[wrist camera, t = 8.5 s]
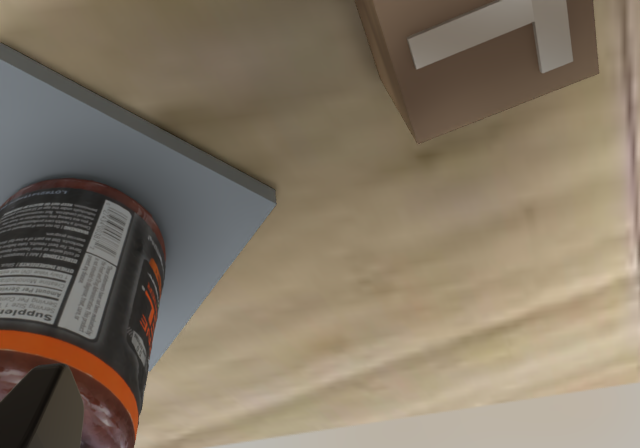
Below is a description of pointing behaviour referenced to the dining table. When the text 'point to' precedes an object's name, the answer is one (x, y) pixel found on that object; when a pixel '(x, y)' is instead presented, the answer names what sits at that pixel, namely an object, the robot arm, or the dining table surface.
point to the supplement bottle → (81, 297)
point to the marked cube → (475, 55)
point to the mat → (130, 178)
